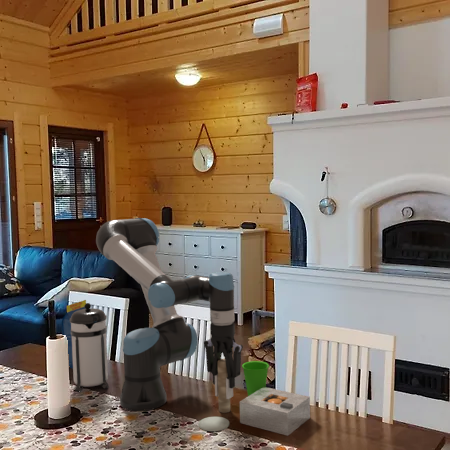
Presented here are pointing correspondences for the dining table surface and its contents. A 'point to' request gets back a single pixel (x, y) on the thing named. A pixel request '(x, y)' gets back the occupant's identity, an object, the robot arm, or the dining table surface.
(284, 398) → the grey block with hole
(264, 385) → the cup
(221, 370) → the dowel
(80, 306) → the blue food package
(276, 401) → the plunger
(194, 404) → the dining table surface
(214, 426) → the pad
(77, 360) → the coffee press
